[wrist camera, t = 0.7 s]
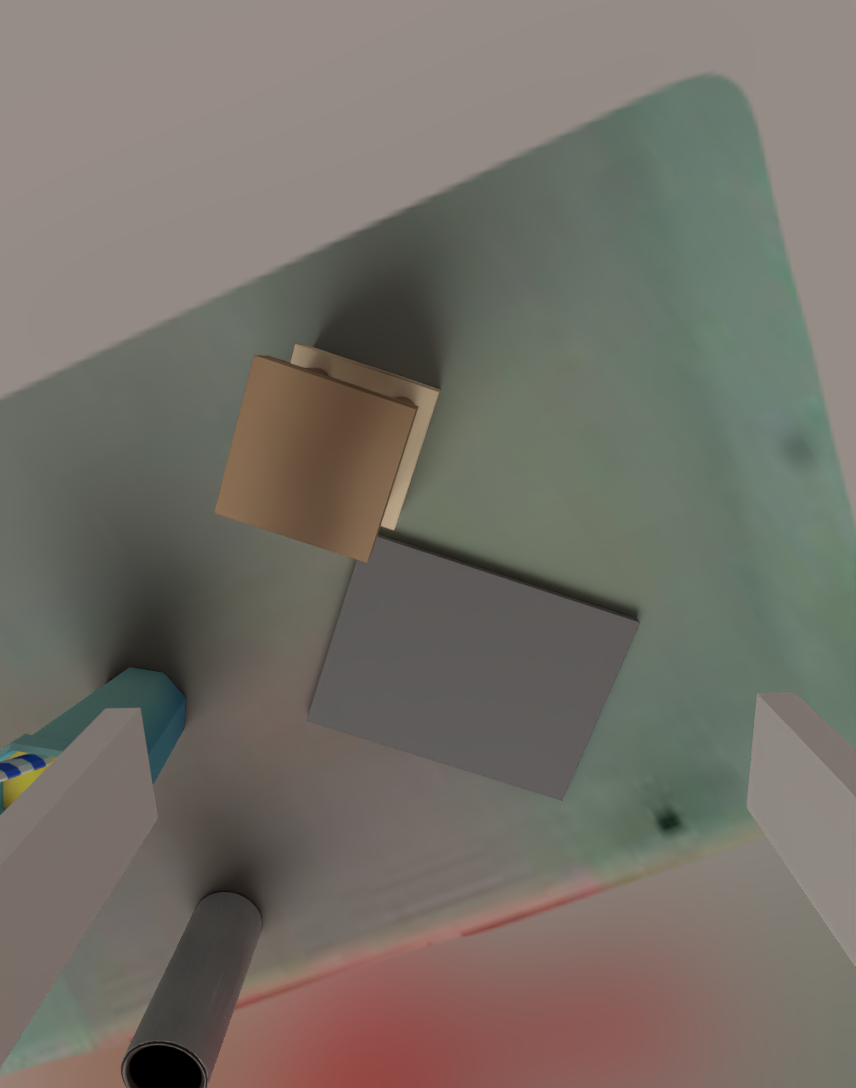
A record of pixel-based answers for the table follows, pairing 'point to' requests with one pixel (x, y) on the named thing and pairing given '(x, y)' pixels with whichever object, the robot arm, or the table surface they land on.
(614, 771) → the table surface
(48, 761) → the cup
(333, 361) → the oak block
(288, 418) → the stool
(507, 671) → the mat
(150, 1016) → the grey hollow cylinder
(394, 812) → the table surface
